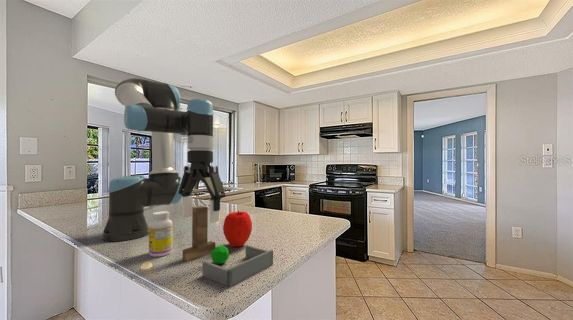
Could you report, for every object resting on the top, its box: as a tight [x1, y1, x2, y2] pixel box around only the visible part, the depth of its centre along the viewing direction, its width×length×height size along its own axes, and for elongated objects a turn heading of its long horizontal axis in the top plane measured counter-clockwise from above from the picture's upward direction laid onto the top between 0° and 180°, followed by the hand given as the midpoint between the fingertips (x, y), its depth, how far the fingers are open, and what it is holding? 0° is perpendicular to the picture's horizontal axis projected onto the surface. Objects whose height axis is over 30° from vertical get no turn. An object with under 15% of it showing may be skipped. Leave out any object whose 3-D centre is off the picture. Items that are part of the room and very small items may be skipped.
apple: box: [222, 210, 253, 247], centre depth 87 cm, size 10×10×12 cm
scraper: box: [182, 205, 216, 263], centre depth 77 cm, size 3×10×15 cm, turn 144°
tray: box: [202, 244, 274, 288], centre depth 67 cm, size 10×16×4 cm, turn 144°
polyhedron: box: [210, 245, 230, 265], centre depth 72 cm, size 5×5×5 cm
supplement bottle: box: [148, 210, 173, 258], centre depth 79 cm, size 7×7×13 cm
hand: (200, 219), depth 77 cm, fingers open, 13 cm apart
